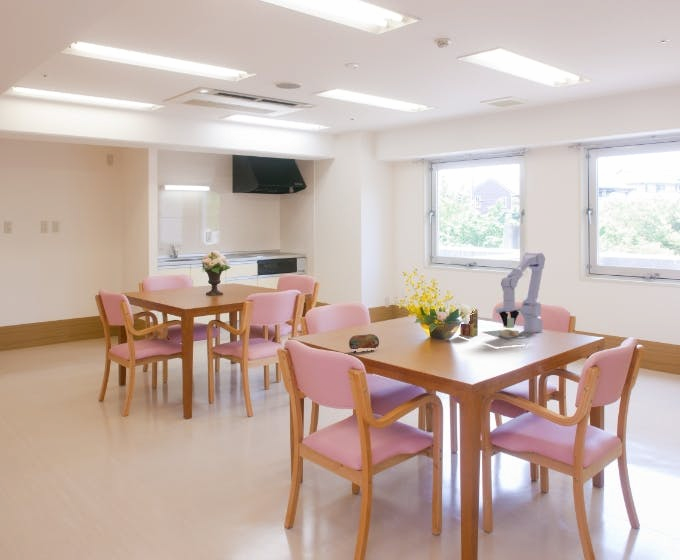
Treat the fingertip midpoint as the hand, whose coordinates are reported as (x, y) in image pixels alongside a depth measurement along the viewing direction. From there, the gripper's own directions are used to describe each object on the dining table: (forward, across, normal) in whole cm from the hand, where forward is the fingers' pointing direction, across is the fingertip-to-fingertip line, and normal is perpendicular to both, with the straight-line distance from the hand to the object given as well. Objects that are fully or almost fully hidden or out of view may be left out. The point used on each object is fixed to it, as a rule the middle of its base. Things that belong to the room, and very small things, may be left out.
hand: (509, 325), depth 314 cm
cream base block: (+6, 0, 0) cm, 6 cm away
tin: (+7, +81, -1) cm, 81 cm away
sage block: (+1, 0, 0) cm, 1 cm away
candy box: (+7, +17, -12) cm, 22 cm away
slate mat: (+7, 0, -4) cm, 8 cm away
